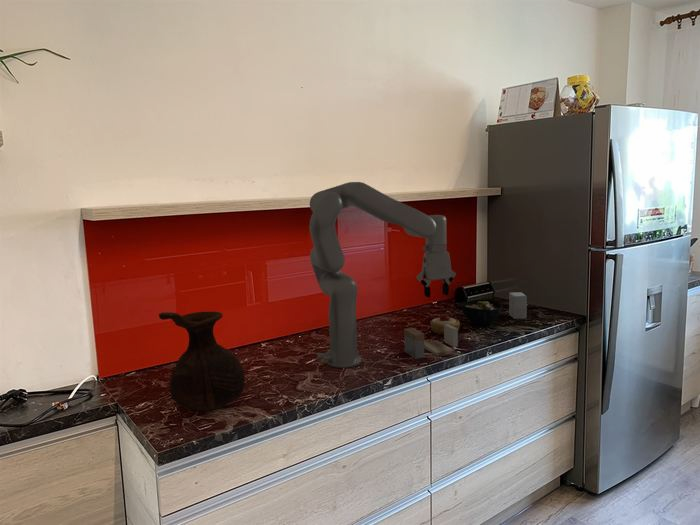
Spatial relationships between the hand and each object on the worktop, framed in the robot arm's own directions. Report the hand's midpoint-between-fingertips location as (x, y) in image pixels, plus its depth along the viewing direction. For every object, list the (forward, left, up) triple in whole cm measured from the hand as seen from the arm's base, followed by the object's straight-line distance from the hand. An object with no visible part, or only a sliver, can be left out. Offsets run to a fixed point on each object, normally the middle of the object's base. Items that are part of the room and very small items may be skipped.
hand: (436, 295), depth 198 cm
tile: (+6, 0, -20) cm, 21 cm away
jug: (-86, -19, -20) cm, 90 cm away
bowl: (+32, +19, -20) cm, 42 cm away
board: (-2, -3, -20) cm, 20 cm away
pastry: (+12, +15, -20) cm, 28 cm away
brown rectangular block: (-12, -5, -20) cm, 24 cm away
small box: (+53, +22, -20) cm, 61 cm away
